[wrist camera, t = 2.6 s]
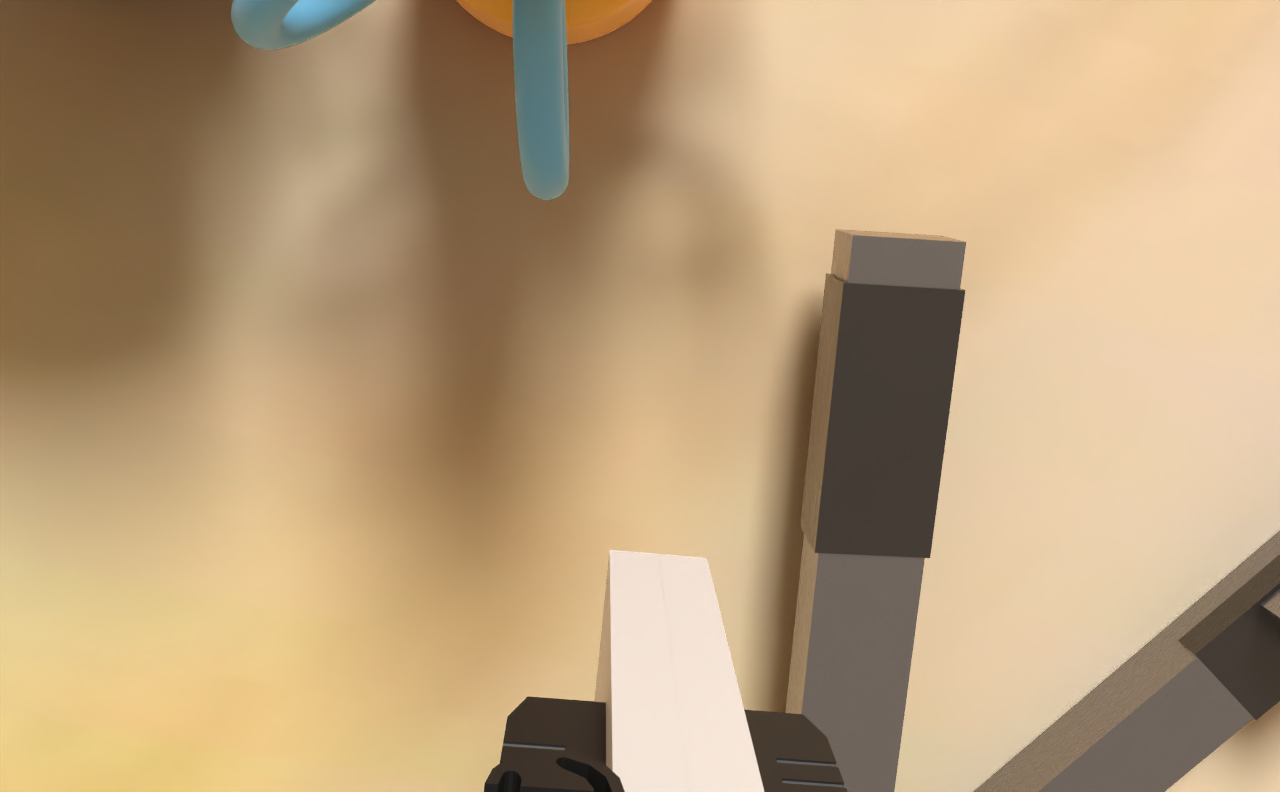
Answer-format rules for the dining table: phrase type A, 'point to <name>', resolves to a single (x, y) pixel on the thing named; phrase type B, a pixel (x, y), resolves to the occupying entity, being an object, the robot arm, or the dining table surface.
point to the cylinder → (508, 3)
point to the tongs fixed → (1167, 696)
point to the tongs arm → (872, 489)
